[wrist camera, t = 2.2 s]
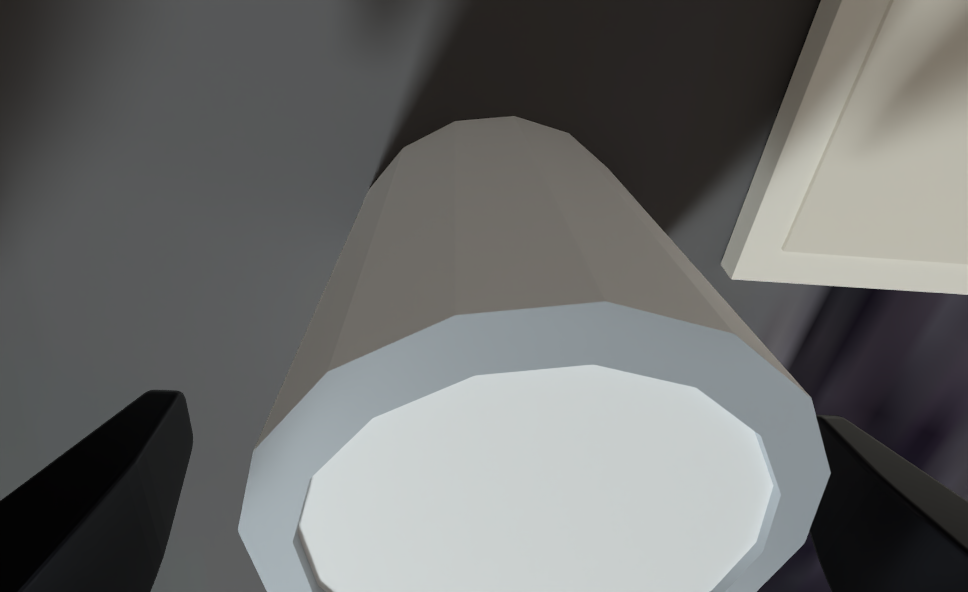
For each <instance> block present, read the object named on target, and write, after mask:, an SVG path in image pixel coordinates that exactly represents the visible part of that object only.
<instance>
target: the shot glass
mask: <svg viewBox="0 0 968 592" xmlns="http://www.w3.org/2000/svg"><path fill="white" fill-rule="evenodd" d="M830 474H831V472H830V468H829V464H828V460H827V456H826V453H825V449H824V445H823V441H822V437H821V433H820V429H819V426H818V422H817V418H816V414H815V410H814V406H813V402H812V399H811V397H810V396H809V395H808V394H807V393H806V391H805V390H804V389H803V388H802V387H801V386H800V385H799V384H798V382H797V381H796V380H795V379H794V378H793V377H792V376H791V375H790V373H789V372H788V371H787V370H786V369H785V368H784V367H783V366H782V364H781V363H780V362H779V361H778V360H777V359H776V358H775V356H774V355H773V354H772V353H771V352H770V351H769V350H768V349H767V347H766V346H765V345H764V344H763V343H762V342H761V341H760V340H759V338H758V337H757V336H756V335H755V334H754V333H753V332H752V330H751V329H750V328H749V327H748V326H747V325H746V324H745V323H744V321H743V320H742V319H741V318H740V317H739V316H738V315H737V314H736V312H735V311H734V310H733V309H732V308H731V307H730V306H729V304H728V303H727V302H726V301H725V300H724V299H723V298H722V297H721V295H720V294H719V293H718V292H717V291H716V290H715V289H714V288H713V286H712V285H711V284H710V283H709V282H708V281H707V280H706V278H705V277H704V276H703V275H702V274H701V273H700V272H699V271H698V269H697V268H696V267H695V266H694V265H693V264H692V263H691V262H690V260H689V259H688V258H687V257H686V256H685V255H684V254H683V252H682V251H681V250H680V249H679V248H678V247H677V246H676V245H675V243H674V242H673V241H672V240H671V239H670V238H669V237H668V236H667V234H666V233H665V232H664V231H663V230H662V229H661V228H660V226H659V225H658V224H657V223H656V222H655V221H654V220H653V219H652V217H651V216H650V215H649V214H648V213H647V212H646V211H645V210H644V208H643V207H642V206H641V205H640V204H639V203H638V202H637V201H636V199H635V198H634V197H633V196H632V195H631V194H630V193H629V191H628V190H627V189H626V188H625V187H624V186H623V185H622V184H621V182H620V181H619V180H618V179H617V178H616V177H615V176H614V175H613V173H612V172H611V171H610V170H609V169H608V168H607V167H606V166H605V165H604V164H603V163H602V162H600V161H599V160H598V159H597V158H596V157H595V156H594V155H593V154H592V153H590V152H589V151H588V150H587V149H586V148H585V147H584V146H583V145H581V144H580V143H579V142H578V141H577V140H576V139H575V138H574V137H573V136H571V135H570V134H569V133H567V132H564V131H560V130H557V129H554V128H551V127H548V126H545V125H541V124H538V123H535V122H532V121H529V120H526V119H523V118H519V117H516V116H508V117H496V118H485V119H473V120H462V121H454V122H452V123H450V124H448V125H446V126H444V127H443V128H441V129H439V130H437V131H435V132H433V133H431V134H429V135H427V136H425V137H423V138H421V139H419V140H417V141H415V142H413V143H411V144H409V145H407V146H406V147H404V148H403V149H402V150H401V151H400V152H399V153H398V155H397V156H396V157H395V158H394V159H393V161H392V162H391V163H390V164H389V166H388V167H387V168H386V169H385V170H384V172H383V173H382V174H381V175H380V176H379V178H378V179H377V180H376V181H375V183H374V184H373V185H372V186H371V187H370V189H369V190H368V193H367V195H366V197H365V199H364V202H363V204H362V206H361V208H360V211H359V213H358V215H357V217H356V220H355V222H354V224H353V226H352V229H351V231H350V233H349V236H348V238H347V240H346V242H345V245H344V247H343V249H342V251H341V254H340V256H339V258H338V260H337V263H336V265H335V267H334V269H333V272H332V274H331V276H330V278H329V281H328V283H327V285H326V288H325V290H324V292H323V294H322V297H321V299H320V301H319V303H318V306H317V308H316V310H315V312H314V315H313V317H312V319H311V321H310V324H309V326H308V328H307V331H306V333H305V335H304V337H303V340H302V342H301V344H300V346H299V349H298V351H297V353H296V355H295V358H294V360H293V362H292V364H291V367H290V369H289V371H288V373H287V376H286V378H285V380H284V383H283V385H282V387H281V389H280V392H279V394H278V396H277V398H276V401H275V403H274V405H273V407H272V410H271V412H270V414H269V416H268V419H267V421H266V423H265V426H264V428H263V430H262V432H261V435H260V437H259V439H258V441H257V444H256V446H255V448H254V450H253V455H252V460H251V465H250V470H249V475H248V481H247V486H246V491H245V496H244V501H243V506H242V512H241V517H240V522H239V527H238V532H239V534H240V536H241V538H242V540H243V542H244V544H245V546H246V549H247V551H248V553H249V555H250V557H251V559H252V561H253V563H254V565H255V567H256V570H257V572H258V574H259V576H260V578H261V580H262V582H263V584H264V586H265V589H266V591H267V592H757V591H758V590H759V589H760V588H761V586H762V585H763V584H764V583H765V582H766V581H767V580H768V579H769V578H770V577H771V576H772V575H773V574H774V573H775V572H776V571H777V570H778V569H779V568H780V567H781V566H782V565H783V564H784V563H785V562H786V561H787V560H788V559H789V558H790V557H791V556H792V555H793V554H794V553H795V552H796V551H797V550H798V549H799V548H800V547H801V546H802V545H803V544H804V543H805V541H806V538H807V535H808V533H809V530H810V527H811V525H812V522H813V519H814V517H815V514H816V511H817V509H818V506H819V503H820V501H821V498H822V495H823V493H824V490H825V487H826V485H827V482H828V479H829V477H830Z"/></svg>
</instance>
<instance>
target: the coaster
mask: <svg viewBox="0 0 968 592" xmlns="http://www.w3.org/2000/svg"><path fill="white" fill-rule="evenodd" d="M721 266H722V267H723V268H724V270H725V271H726V273H727V274H728V275H729V277H730V278H731V279H735V280H750V281H766V282H781V283H797V284H812V285H828V286H843V287H858V288H874V289H889V290H905V291H920V292H936V293H951V294H966V295H968V0H821V1H820V4H819V6H818V9H817V12H816V14H815V17H814V20H813V22H812V25H811V28H810V30H809V33H808V35H807V38H806V41H805V43H804V46H803V49H802V51H801V54H800V56H799V59H798V62H797V64H796V67H795V70H794V72H793V75H792V78H791V80H790V83H789V85H788V88H787V91H786V93H785V96H784V99H783V101H782V104H781V107H780V109H779V112H778V114H777V117H776V120H775V122H774V125H773V128H772V130H771V133H770V135H769V138H768V141H767V143H766V146H765V149H764V151H763V154H762V157H761V159H760V162H759V164H758V167H757V170H756V172H755V175H754V178H753V180H752V183H751V185H750V188H749V191H748V193H747V196H746V199H745V201H744V204H743V207H742V209H741V212H740V214H739V217H738V220H737V222H736V225H735V228H734V230H733V233H732V235H731V238H730V241H729V243H728V246H727V249H726V251H725V254H724V257H723V259H722V262H721Z"/></svg>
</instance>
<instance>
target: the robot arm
mask: <svg viewBox="0 0 968 592" xmlns="http://www.w3.org/2000/svg"><path fill="white" fill-rule="evenodd" d="M816 418H817V422H818V426H819V429H820V433H821V437H822V441H823V445H824V449H825V453H826V456H827V460H828V464H829V468H830V472H831V474H830V477H829V479H828V482H827V485H826V487H825V490H824V493H823V495H822V498H821V501H820V503H819V506H818V509H817V511H816V514H815V517H814V519H813V522H812V525H811V527H810V530H809V532H810V535H811V538H812V541H813V544H814V547H815V550H816V553H817V556H818V559H819V562H820V564H821V567H822V569H823V572H824V574H825V577H826V579H827V581H828V584H829V586H830V588H831V591H832V592H968V501H966V500H965V499H963V498H962V497H960V496H959V495H957V494H956V493H954V492H953V491H951V490H950V489H948V488H947V487H945V486H944V485H942V484H941V483H939V482H938V481H936V480H935V479H934V478H932V477H931V476H929V475H928V474H926V473H925V472H923V471H922V470H920V469H919V468H917V467H916V466H914V465H913V464H911V463H910V462H908V461H907V460H905V459H904V458H902V457H901V456H899V455H898V454H896V453H895V452H893V451H892V450H891V449H889V448H888V447H886V446H885V445H883V444H882V443H880V442H879V441H877V440H876V439H874V438H873V437H871V436H870V435H868V434H867V433H865V432H864V431H862V430H861V429H859V428H858V427H856V426H855V425H853V424H852V423H850V422H849V421H847V420H846V419H844V418H843V417H840V416H835V415H816ZM192 445H193V433H192V428H191V423H190V418H189V413H188V408H187V403H186V399H185V396H184V395H183V393H181V392H180V391H173V390H150V391H148V392H146V393H144V394H143V395H141V396H140V397H139V398H137V399H136V400H135V401H133V402H132V403H131V404H129V405H128V406H127V407H125V408H124V409H123V410H121V411H120V412H119V413H117V414H116V415H115V416H113V417H112V418H111V419H109V420H108V421H107V422H105V423H104V424H103V425H101V426H100V427H99V428H97V429H96V430H95V431H93V432H92V433H91V434H89V435H88V436H87V437H85V438H84V439H82V440H81V441H80V442H78V443H77V444H76V445H74V446H73V447H72V448H70V449H69V450H68V451H66V452H65V453H64V454H62V455H61V456H60V457H58V458H57V459H56V460H54V461H53V462H52V463H50V464H49V465H48V466H46V467H45V468H44V469H42V470H41V471H40V472H38V473H37V474H36V475H34V476H33V477H32V478H30V479H29V480H28V481H26V482H25V483H24V484H22V485H21V486H20V487H18V488H17V489H16V490H14V491H13V492H12V493H10V494H9V495H8V496H6V497H5V498H4V499H2V500H1V501H0V592H150V591H151V589H152V586H153V584H154V581H155V579H156V576H157V573H158V570H159V568H160V565H161V562H162V559H163V556H164V553H165V549H166V546H167V542H168V539H169V535H170V531H171V527H172V524H173V520H174V516H175V512H176V508H177V505H178V501H179V497H180V493H181V489H182V486H183V482H184V478H185V474H186V470H187V467H188V463H189V459H190V455H191V451H192Z"/></svg>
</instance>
